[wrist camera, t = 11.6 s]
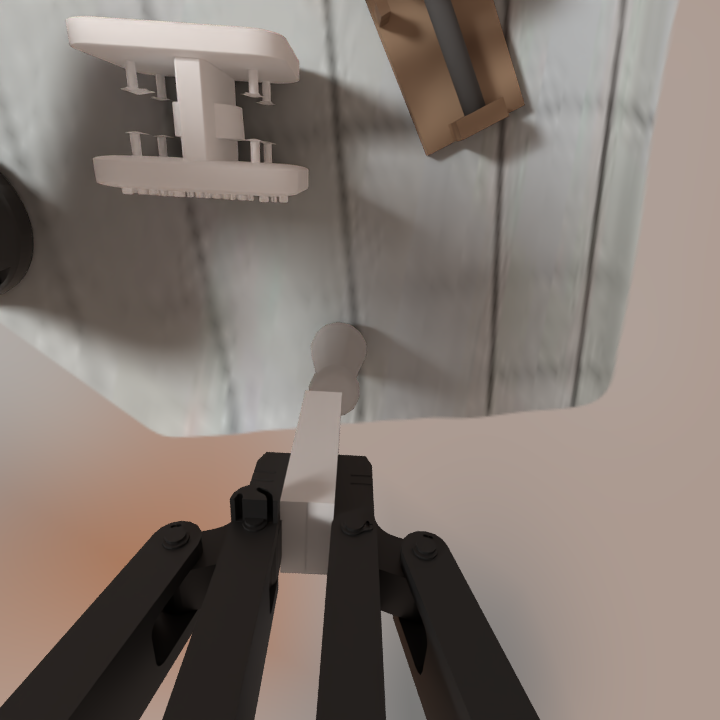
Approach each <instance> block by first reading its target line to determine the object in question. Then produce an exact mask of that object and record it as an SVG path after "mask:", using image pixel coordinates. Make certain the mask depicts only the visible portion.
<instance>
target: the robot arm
mask: <svg viewBox="0 0 720 720" xmlns="http://www.w3.org/2000/svg"><path fill="white" fill-rule="evenodd" d="M32 253H33V236H32V229H31V225H30V221H29V218H28V215H27V213H26V210H25V208H24V206H23V204H22V202H21V200H20V198H19V196H18V195H17V193H16V192H15V190H14V189H13V187H12V186H11V185H10V183H9V182H8V181H7V179H6V178H5V177H4V176H3V175H2V174H1V173H0V294H2V293H4V292H6V291H8V290H10V289H11V288H13V287H14V286H15V285H17V284H18V283H19V282H20V280H21V279H22V278H23V277H24V275H25V274H26V272H27V270H28V268H29V265H30V262H31V258H32ZM341 401H342V392H325V391H307V390H305V394H304V399H303V403H302V407H301V412H300V416H299V420H298V425H297V429H296V434H295V438H294V442H293V447H292V451H291V453H275V452H266V453H265V454H264V455H263V456H262V457H261V458H260V459H259V460H258V461H257V464H256V467H255V470H254V473H253V476H252V480H251V482H250V485H248V486H245V487H242V488H240V489H238V490H237V491H236V492H234V493H233V495H232V496H231V498H230V508H231V522H230V523H229V524H227V525H225V526H223V527H220V528H216V529H212V530H207V531H202V532H201V530H200V528H199V527H198V526H197V525H196V524H194V523H192V522H186V521H178V522H173V523H170V524H168V525H165V526H164V527H162V528H160V529H159V530H158V531H157V532H155V533H154V534H153V535H152V537H151V538H150V539H149V540H148V541H147V542H146V543H145V544H144V546H143V547H142V548H141V549H140V550H139V551H138V552H137V554H136V555H135V556H134V557H133V558H132V559H131V560H130V562H129V563H128V564H127V565H126V566H125V567H124V568H123V569H122V570H121V572H120V573H119V574H118V575H117V576H116V577H115V578H114V580H113V581H112V582H111V583H110V584H109V585H108V586H107V587H106V589H105V590H104V591H103V592H102V593H101V594H100V595H99V597H98V598H97V599H96V600H95V601H94V602H93V603H92V604H91V606H90V607H89V608H88V609H87V610H86V611H85V612H84V613H83V615H82V616H81V617H80V618H79V619H78V620H77V621H76V622H75V624H74V625H73V626H72V627H71V628H70V629H69V631H68V632H67V633H66V634H65V635H64V636H63V637H62V638H61V639H60V641H59V642H58V643H57V644H56V645H55V646H54V648H53V649H52V650H51V651H50V652H49V653H48V654H47V655H46V656H45V658H44V659H43V660H42V661H41V662H40V663H39V664H38V666H37V667H36V668H35V669H34V670H33V671H32V672H31V673H30V674H29V676H28V677H27V678H26V679H25V680H24V681H23V682H22V684H21V685H20V686H19V687H18V688H17V689H16V690H15V692H14V693H13V694H12V695H11V696H10V697H9V698H8V699H7V701H6V702H5V703H4V704H3V705H2V706H1V707H0V720H139V719H140V717H141V716H142V714H143V713H144V711H145V709H146V708H147V706H148V704H149V703H150V701H151V699H152V698H153V696H154V695H155V693H156V691H157V690H158V688H159V686H160V685H161V683H162V682H163V680H164V678H165V677H166V675H167V673H168V672H169V670H170V668H171V667H172V665H173V664H174V662H175V660H176V659H177V657H178V655H179V654H180V652H181V651H182V649H183V647H184V645H185V644H186V642H187V641H188V639H189V638H190V636H191V634H192V636H191V639H190V642H189V645H188V647H187V650H186V653H185V656H184V659H183V662H182V665H181V668H180V670H179V673H178V676H177V679H176V682H175V685H174V688H173V691H172V693H171V696H170V699H169V702H168V705H167V708H166V711H165V714H164V716H163V719H162V720H254V718H255V713H256V707H257V702H258V697H259V691H260V686H261V680H262V675H263V669H264V664H265V658H266V653H267V647H268V642H269V636H270V631H271V626H272V620H273V614H274V609H275V604H276V598H277V593H278V575H279V569H280V567H281V570H280V571H281V572H282V573H304V574H327V586H326V598H325V613H324V624H323V625H324V626H323V638H322V650H321V663H320V676H319V689H318V701H317V715H316V720H386V711H385V691H384V670H383V648H382V627H381V611H384V612H387V613H390V614H392V615H393V619H394V622H395V626H396V629H397V631H398V634H399V637H400V641H401V644H402V646H403V649H404V652H405V656H406V659H407V662H408V664H409V668H410V671H411V674H412V677H413V680H414V683H415V686H416V689H417V692H418V695H419V697H420V700H421V703H422V707H423V710H424V712H425V716H426V719H427V720H540V719H539V717H538V715H537V713H536V711H535V709H534V708H533V706H532V704H531V702H530V700H529V698H528V696H527V694H526V693H525V691H524V689H523V687H522V685H521V683H520V681H519V679H518V678H517V676H516V674H515V672H514V670H513V668H512V666H511V664H510V662H509V661H508V659H507V657H506V655H505V653H504V651H503V649H502V648H501V646H500V644H499V642H498V640H497V638H496V636H495V634H494V633H493V631H492V629H491V627H490V625H489V623H488V621H487V619H486V617H485V616H484V614H483V612H482V610H481V608H480V606H479V604H478V602H477V600H476V599H475V597H474V595H473V593H472V591H471V589H470V587H469V585H468V584H467V582H466V580H465V578H464V576H463V574H462V572H461V570H460V569H459V567H458V565H457V563H456V561H455V559H454V557H453V555H452V554H451V552H450V550H449V548H448V546H447V545H446V543H445V542H444V541H443V540H442V539H441V538H440V537H438V536H436V535H435V534H432V533H429V532H424V531H417V532H413V533H410V534H408V535H407V536H406V537H405V538H404V539H402V538H398V537H395V536H393V535H390V534H388V533H386V532H385V531H383V530H382V529H381V528H380V527H379V526H378V524H377V523H376V521H375V517H374V501H373V479H372V465H371V463H370V462H369V461H368V459H367V458H366V457H365V456H351V455H338V453H339V436H340V435H339V434H340V419H341Z"/></svg>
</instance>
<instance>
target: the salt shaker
mask: <svg viewBox="0 0 720 720" xmlns="http://www.w3.org/2000/svg"><path fill="white" fill-rule="evenodd" d="M366 346H367V344H366V342H365V340H364V338H363V336H362V334H361V333H360V331H358V330H357V329H356V328H354V327H353V326H352V325H350V324H345V323H340V322H336V323H332V324H328V325H325V326H324V327H323V328H322V329H320V330H319V331H318V332H317V333H316V334H315V337H314V339H313V341H312V343H311V355H312V360H313V364H314V368H315V372H316V374H314V376H313V378H312V380H311V382H310V385H309V391H325V392H342V401H341V415H345V414H347V413H348V412H350V411H351V410H353V409H354V407H355V405H356V403H357V401H358V399H359V382H358V381H357V379H356V377H357V375H358V372H359V370H360V368H361V365H362V363H363V361H364V359H365V357H366Z"/></svg>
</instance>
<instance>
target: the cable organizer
mask: <svg viewBox="0 0 720 720" xmlns="http://www.w3.org/2000/svg"><path fill="white" fill-rule="evenodd" d="M66 27H67V33H68V39H69V44H70V46H71V47H73V48H75V49H77V50H79V51H82V52H84V53H87V54H89V55H92V56H94V57H97V58H99V59H102V60H104V61H107V62H109V63H112V64H114V65H117V66H119V67H122V68H124V69H125V70H126V77H127V84H128V87H125V88H120V89H122V90H125V91H128V92H131V93H134V94H137V95H141V94H148V93H154V91H148V90H147V89H139V87H138V80H137V73H142V74H148V75H155V78H156V87H157V96H158V97H154V96H152V97H150V98H153V99H156V100H160V101H164V100H170V99H167V96H166V86H165V76H170V77H175V78H176V88H177V99H178V102H172V106H173V117H174V127H175V136H177V137H181V143H182V153H183V158H181V157H168V152H167V143H166V137H168V138H174V137H170V136H166V135H158V136H155V137H157V141H158V150H159V156H142V148H141V140H140V134H146V133H142V132H138V131H133V132H126V133H129V135H130V142H131V150H132V156H129V155H106V156H98V157H94V158H93V165H94V171H95V177H96V182H97V183H99V184H102V185H106V186H112V187H120V188H122V192H123V194H133V193H138V194H149V195H158V196H160V195H162V196H174V197H186V195H185V192H187V197H193V196H194V192H195V193H196V197H197V198H210V197H213V198H214V199H221V198H223V199H229V198H230V200H236V199H238V200H248V201H254V196H259V202H269V197H271V202H277V197H279V202H281V203H287V202H288V196H293V195H297V194H299V193H301V192H302V191H304V190H306V189H308V188H309V169H308V168H305V167H302V166H297V165H291V164H279V163H272V144H274V143H271V142H268V141H266V142H265V141H261V140H258V139H247V140H246V141H250V148H251V162H247V161H238V141H244V140H245V134H244V123H243V112H242V108H240V107H238V106H236V97H235V81H246V82H249V93H247V92H245V93H246V94H242V95H246V96H250V97H262V101H260V102H255V103H259V104H263V105H276V104H272V103H273V102H271V88H270V83H278V84H286V83H295V82H298V81H299V60H298V59H297V57H296V55H295V53H294V52H293V50H292V48H291V46H290V45H289V43H288V41H287V40H286V38H285V37H284V36H282V35H280V34H278V33H275V32H272V31H268V30H264V29H258V28H251V27H238V26H223V25H209V24H195V23H180V22H166V21H151V20H137V19H123V18H108V17H94V16H76V17H70V18H67V19H66ZM258 82H261V83H262V96H260V94H259V91H258ZM146 135H150V134H146ZM260 143H264V163H263V162H260Z"/></svg>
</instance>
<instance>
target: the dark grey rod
mask: <svg viewBox="0 0 720 720" xmlns="http://www.w3.org/2000/svg"><path fill="white" fill-rule="evenodd" d="M424 2H425V5H426V8H427V11H428V14H429V17H430V20H431V22H432V25H433V28H434V31H435V34H436V37H437V39H438V42H439V45H440V48H441V51H442V54H443V56H444V59H445V62H446V65H447V68H448V71H449V74H450V76H451V79H452V82H453V85H454V88H455V91H456V93H457V96H458V99H459V102H460V105H461V108H462V110H463V113H464V116H467V115H469V114H471V113H473V112H474V111H476V110H478V109H480V108H482V107H484V106H485V102H484V99H483V96H482V93H481V90H480V86H479V83H478V80H477V77H476V74H475V71H474V68H473V65H472V62H471V59H470V56H469V53H468V50H467V47H466V44H465V41H464V38H463V35H462V32H461V29H460V26H459V23H458V20H457V17H456V14H455V11H454V8H453V5H452V2H451V0H424Z"/></svg>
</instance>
